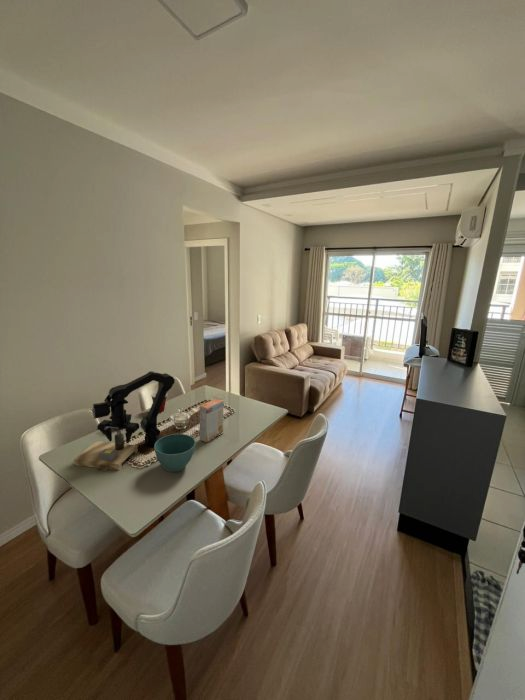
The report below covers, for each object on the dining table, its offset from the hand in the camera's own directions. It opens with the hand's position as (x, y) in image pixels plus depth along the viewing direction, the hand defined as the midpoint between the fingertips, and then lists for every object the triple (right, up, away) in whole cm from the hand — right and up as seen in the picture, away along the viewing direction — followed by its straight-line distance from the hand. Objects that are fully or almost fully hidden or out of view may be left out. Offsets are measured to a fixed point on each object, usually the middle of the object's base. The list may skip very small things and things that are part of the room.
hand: (119, 442), depth 141 cm
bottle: (0, -3, +1) cm, 3 cm away
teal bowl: (+30, -10, -6) cm, 32 cm away
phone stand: (-13, 0, +28) cm, 31 cm away
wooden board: (-5, -7, -2) cm, 9 cm away
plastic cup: (+1, +4, +52) cm, 52 cm away
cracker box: (+42, -4, +22) cm, 48 cm away
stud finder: (-1, -5, -8) cm, 9 cm away
